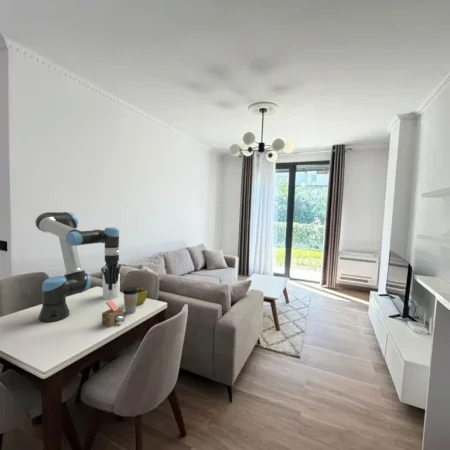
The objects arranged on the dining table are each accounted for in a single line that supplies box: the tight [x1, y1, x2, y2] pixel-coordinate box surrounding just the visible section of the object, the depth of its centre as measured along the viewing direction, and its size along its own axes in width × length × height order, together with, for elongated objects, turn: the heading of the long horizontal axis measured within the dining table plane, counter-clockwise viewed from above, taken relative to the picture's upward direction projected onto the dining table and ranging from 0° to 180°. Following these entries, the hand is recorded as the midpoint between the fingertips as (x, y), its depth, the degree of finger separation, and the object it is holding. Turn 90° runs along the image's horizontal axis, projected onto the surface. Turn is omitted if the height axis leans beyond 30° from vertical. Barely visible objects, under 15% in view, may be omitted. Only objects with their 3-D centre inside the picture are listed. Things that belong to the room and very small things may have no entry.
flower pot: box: [136, 288, 148, 306], centre depth 178 cm, size 9×9×9 cm
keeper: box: [105, 299, 119, 312], centre depth 148 cm, size 7×4×1 cm
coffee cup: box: [122, 286, 139, 315], centre depth 164 cm, size 9×9×15 cm
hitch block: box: [101, 306, 124, 327], centre depth 149 cm, size 6×10×7 cm, turn 164°
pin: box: [115, 316, 125, 323], centre depth 148 cm, size 11×4×4 cm, turn 74°
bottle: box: [102, 273, 121, 300], centre depth 190 cm, size 12×12×25 cm
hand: (111, 294), depth 148 cm, fingers closed
